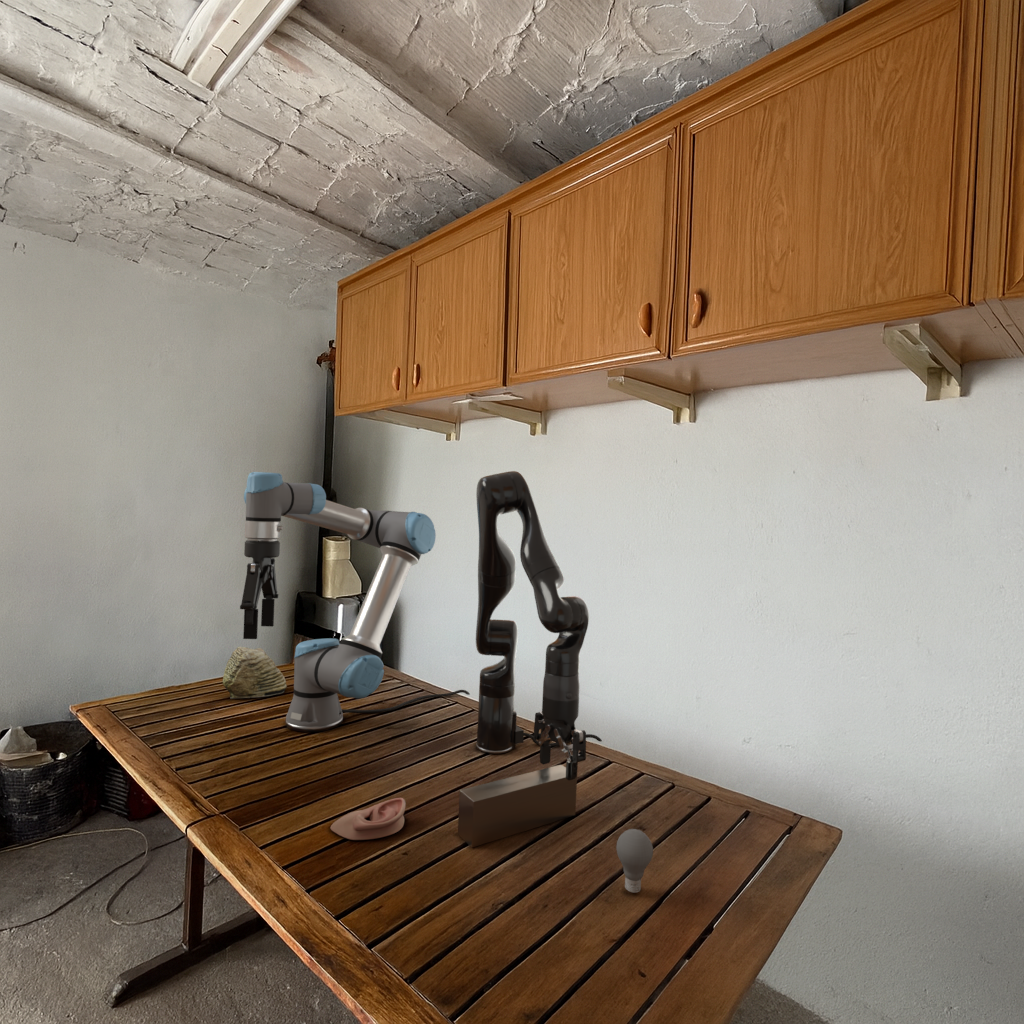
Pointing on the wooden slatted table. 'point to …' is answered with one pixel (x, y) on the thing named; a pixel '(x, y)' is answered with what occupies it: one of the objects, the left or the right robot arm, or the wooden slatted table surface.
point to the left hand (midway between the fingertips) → (259, 632)
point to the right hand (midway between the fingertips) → (557, 770)
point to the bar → (515, 805)
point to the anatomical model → (372, 821)
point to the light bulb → (634, 857)
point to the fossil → (252, 674)
